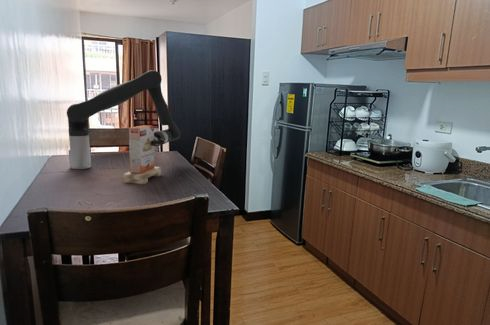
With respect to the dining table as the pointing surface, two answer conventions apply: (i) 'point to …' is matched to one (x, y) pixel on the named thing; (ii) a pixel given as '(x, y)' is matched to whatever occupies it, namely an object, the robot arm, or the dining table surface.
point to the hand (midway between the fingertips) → (143, 143)
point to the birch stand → (141, 176)
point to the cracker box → (141, 148)
